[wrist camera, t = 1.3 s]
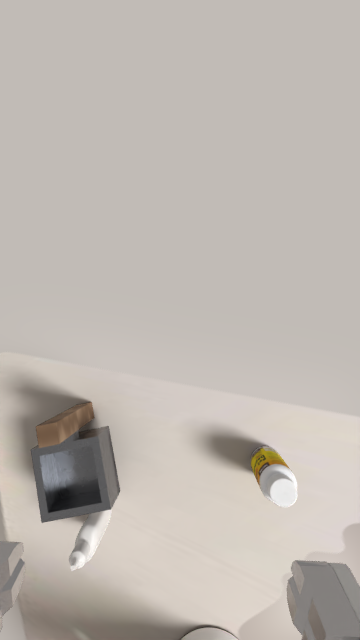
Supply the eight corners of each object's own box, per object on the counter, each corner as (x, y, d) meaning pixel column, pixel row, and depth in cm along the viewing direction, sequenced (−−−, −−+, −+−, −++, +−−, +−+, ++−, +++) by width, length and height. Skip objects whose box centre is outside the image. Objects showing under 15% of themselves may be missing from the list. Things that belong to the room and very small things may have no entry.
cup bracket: (126, 478, 49) (101, 527, 36) (69, 489, 49) (24, 542, 36) (111, 397, 50) (82, 416, 37) (56, 409, 51) (9, 432, 38)
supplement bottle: (256, 440, 48) (272, 466, 38) (285, 452, 48) (309, 482, 38) (244, 469, 48) (258, 503, 38) (273, 482, 47) (295, 520, 37)
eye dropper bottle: (84, 515, 49) (48, 572, 37) (104, 492, 49) (75, 540, 37) (101, 533, 48) (70, 595, 36) (121, 509, 48) (97, 564, 37)
